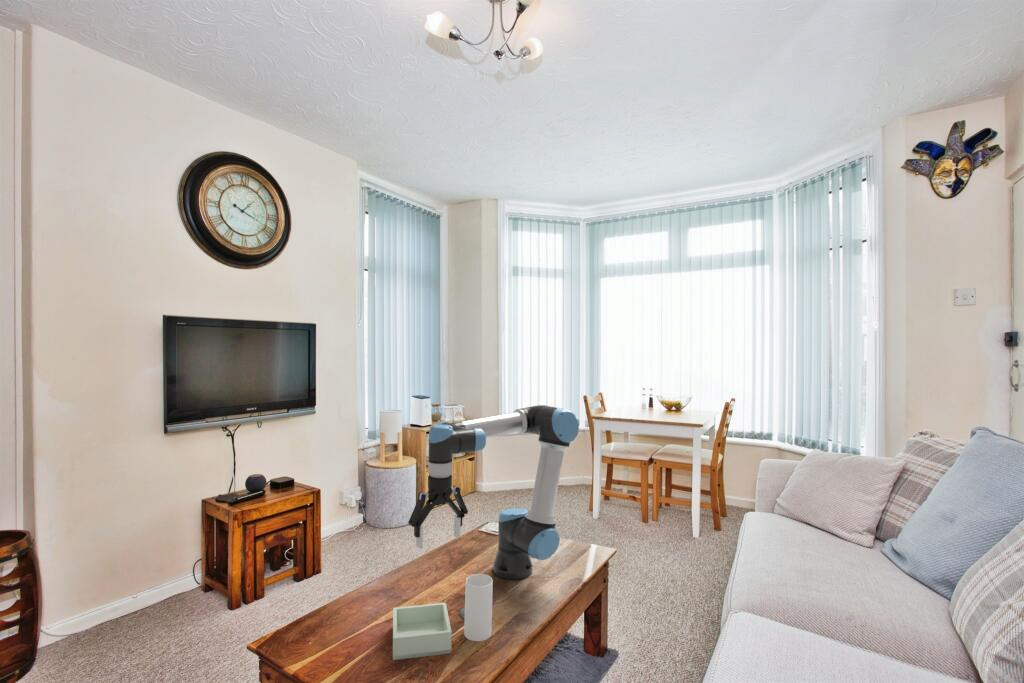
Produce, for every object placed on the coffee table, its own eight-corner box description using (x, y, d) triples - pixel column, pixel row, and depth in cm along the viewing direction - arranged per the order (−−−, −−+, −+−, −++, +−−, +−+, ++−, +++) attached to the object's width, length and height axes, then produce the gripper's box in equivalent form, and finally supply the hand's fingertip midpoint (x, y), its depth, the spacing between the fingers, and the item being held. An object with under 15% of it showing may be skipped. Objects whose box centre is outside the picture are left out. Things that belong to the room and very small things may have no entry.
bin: (445, 621, 155) (445, 602, 155) (451, 653, 139) (451, 631, 140) (392, 627, 151) (393, 607, 151) (392, 660, 136) (393, 638, 136)
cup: (494, 639, 147) (495, 585, 147) (467, 643, 144) (468, 588, 144) (487, 623, 154) (489, 572, 155) (461, 627, 152) (463, 575, 152)
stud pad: (482, 605, 165) (482, 604, 165) (486, 618, 157) (486, 617, 157) (458, 608, 163) (458, 606, 163) (461, 621, 155) (461, 619, 155)
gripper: (466, 466, 167) (465, 529, 167) (398, 478, 151) (396, 547, 151) (479, 471, 161) (477, 536, 161) (409, 483, 145) (408, 556, 145)
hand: (438, 542), depth 156 cm, fingers open, 13 cm apart
